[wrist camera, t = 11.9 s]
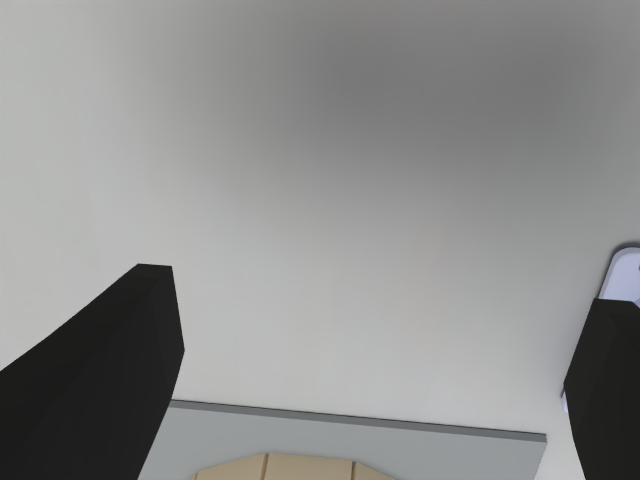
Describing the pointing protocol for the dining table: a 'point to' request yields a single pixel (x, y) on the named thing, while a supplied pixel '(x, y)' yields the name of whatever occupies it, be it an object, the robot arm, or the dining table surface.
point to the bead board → (329, 448)
